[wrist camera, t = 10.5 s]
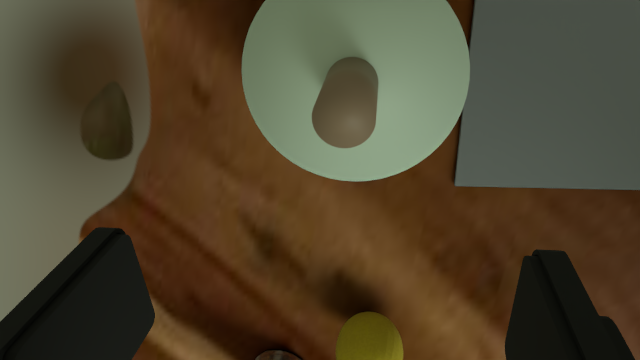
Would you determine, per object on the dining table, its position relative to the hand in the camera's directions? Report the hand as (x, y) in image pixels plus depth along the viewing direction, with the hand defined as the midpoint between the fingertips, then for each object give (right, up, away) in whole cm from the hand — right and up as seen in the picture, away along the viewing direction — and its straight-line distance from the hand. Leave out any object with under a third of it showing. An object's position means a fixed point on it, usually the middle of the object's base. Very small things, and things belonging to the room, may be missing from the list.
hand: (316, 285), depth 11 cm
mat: (+16, +8, +17) cm, 25 cm away
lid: (+2, +8, +14) cm, 16 cm away
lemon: (+5, -10, +30) cm, 31 cm away
